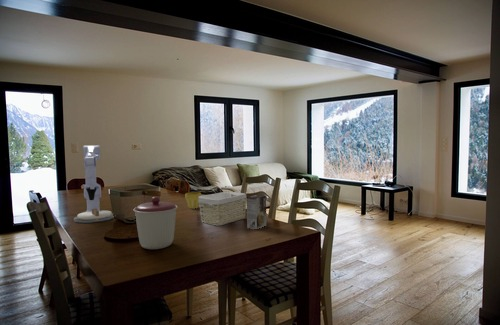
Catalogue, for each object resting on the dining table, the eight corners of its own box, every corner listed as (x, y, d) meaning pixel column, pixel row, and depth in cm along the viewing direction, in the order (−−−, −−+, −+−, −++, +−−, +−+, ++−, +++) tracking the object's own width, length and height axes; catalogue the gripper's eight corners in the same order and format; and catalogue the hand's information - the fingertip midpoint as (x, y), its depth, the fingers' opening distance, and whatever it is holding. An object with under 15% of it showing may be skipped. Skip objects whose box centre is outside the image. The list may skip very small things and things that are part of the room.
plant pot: (186, 206, 226) (185, 192, 225) (201, 206, 227) (201, 192, 226) (184, 209, 216) (184, 194, 215) (200, 209, 217) (200, 194, 216)
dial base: (72, 217, 196) (72, 214, 196) (112, 212, 207) (112, 210, 207) (74, 225, 177) (74, 222, 177) (118, 219, 189) (118, 217, 188)
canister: (136, 255, 128) (134, 201, 127) (132, 242, 145) (131, 195, 144) (182, 249, 135) (181, 198, 134) (174, 237, 152) (173, 192, 151)
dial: (75, 215, 195) (75, 208, 194) (108, 211, 205) (107, 204, 205) (79, 221, 180) (79, 213, 180) (114, 217, 190) (114, 209, 190)
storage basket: (217, 227, 170) (217, 199, 169) (197, 222, 181) (196, 196, 180) (248, 219, 188) (247, 193, 187) (227, 215, 199) (227, 190, 198)
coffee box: (256, 224, 175) (256, 194, 174) (266, 226, 171) (266, 195, 170) (246, 228, 167) (246, 196, 166) (257, 230, 164) (256, 197, 163)
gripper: (82, 176, 198) (83, 199, 199) (84, 178, 186) (85, 202, 186) (95, 175, 202) (96, 197, 202) (97, 177, 189) (98, 201, 190)
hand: (91, 200), depth 195 cm, fingers closed
